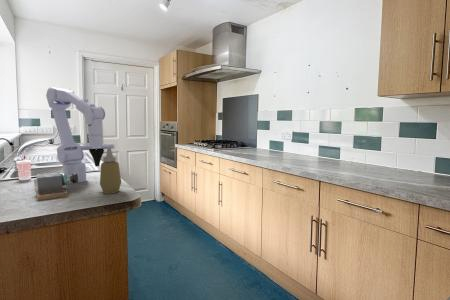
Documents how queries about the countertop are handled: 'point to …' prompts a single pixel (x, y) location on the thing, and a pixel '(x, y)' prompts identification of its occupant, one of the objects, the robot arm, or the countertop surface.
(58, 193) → the sharpening stone
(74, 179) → the shaft
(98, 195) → the countertop surface
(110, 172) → the squeeze bottle
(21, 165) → the beverage cup
